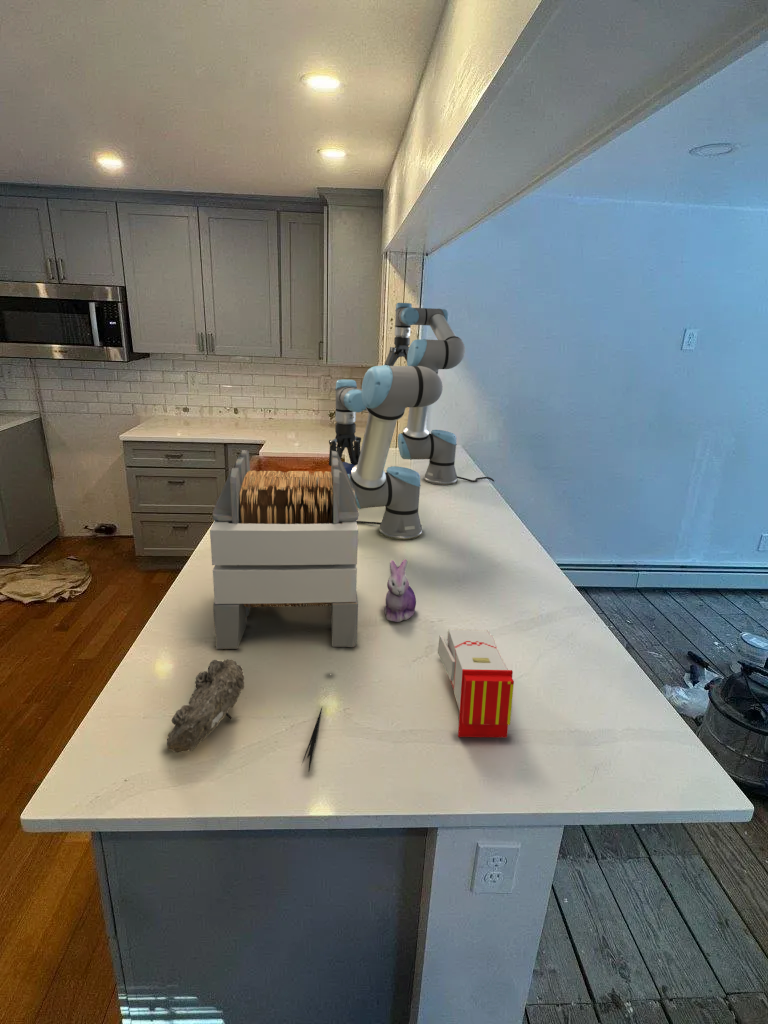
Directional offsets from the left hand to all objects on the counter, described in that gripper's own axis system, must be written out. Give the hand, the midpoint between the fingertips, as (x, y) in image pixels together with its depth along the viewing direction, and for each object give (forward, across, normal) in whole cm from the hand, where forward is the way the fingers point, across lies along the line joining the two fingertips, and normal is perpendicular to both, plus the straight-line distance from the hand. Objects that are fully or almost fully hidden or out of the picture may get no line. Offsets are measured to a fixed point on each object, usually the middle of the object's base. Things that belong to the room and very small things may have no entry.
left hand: (344, 482), depth 217 cm
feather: (+13, -76, -92) cm, 120 cm away
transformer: (+12, -59, -55) cm, 81 cm away
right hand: (-31, +67, +44) cm, 86 cm away
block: (+1, 0, 0) cm, 1 cm away
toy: (+13, -46, -105) cm, 115 cm away
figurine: (+13, -37, -72) cm, 82 cm away
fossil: (+13, -91, -79) cm, 122 cm away
